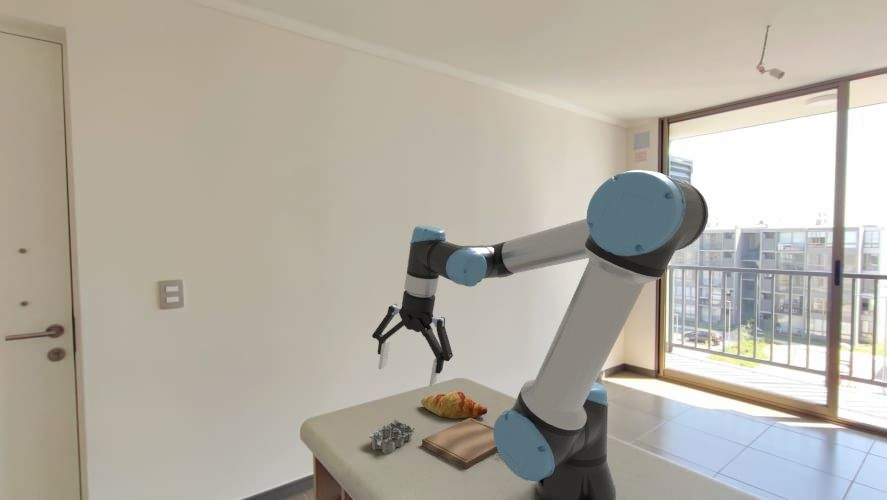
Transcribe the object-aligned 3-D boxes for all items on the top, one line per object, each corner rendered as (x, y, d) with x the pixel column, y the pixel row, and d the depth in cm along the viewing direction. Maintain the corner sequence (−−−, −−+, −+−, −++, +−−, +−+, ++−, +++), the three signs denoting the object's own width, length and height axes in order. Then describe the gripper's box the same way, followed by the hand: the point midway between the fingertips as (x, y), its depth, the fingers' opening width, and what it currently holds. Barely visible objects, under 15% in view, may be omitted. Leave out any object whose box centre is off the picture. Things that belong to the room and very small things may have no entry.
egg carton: (387, 457, 98) (387, 440, 98) (366, 447, 103) (366, 431, 103) (417, 439, 107) (417, 424, 107) (395, 431, 111) (395, 416, 111)
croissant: (417, 421, 125) (411, 403, 121) (429, 396, 133) (424, 377, 129) (485, 433, 116) (480, 413, 113) (493, 405, 124) (489, 385, 121)
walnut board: (514, 441, 105) (514, 435, 105) (466, 469, 92) (466, 461, 92) (470, 423, 116) (470, 417, 116) (422, 445, 103) (422, 438, 103)
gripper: (475, 301, 96) (460, 384, 100) (380, 276, 104) (370, 354, 108) (465, 309, 89) (449, 398, 93) (365, 282, 97) (354, 366, 101)
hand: (407, 375), depth 100 cm, fingers open, 13 cm apart
